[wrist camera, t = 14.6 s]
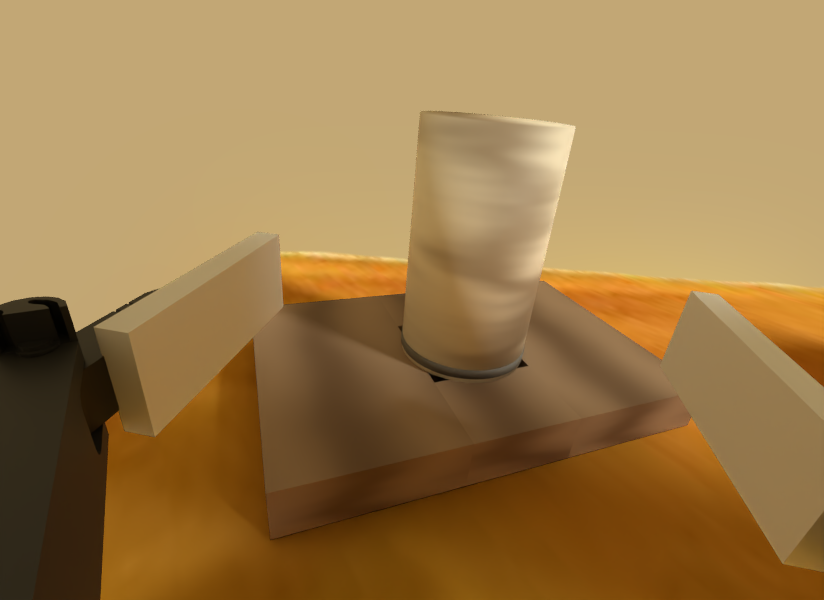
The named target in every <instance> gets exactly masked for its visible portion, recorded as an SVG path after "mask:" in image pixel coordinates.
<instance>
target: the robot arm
mask: <svg viewBox="0 0 824 600" xmlns="http://www.w3.org/2000/svg"><path fill="white" fill-rule="evenodd" d="M282 308H283V292H282V276H281V260H280V244H279V235H278V234H270V233H263V232H256V233H255V234H253V235H251V236H249V237H248V238H246V239H244V240H243V241H241V242H239V243H237V244H236V245H234V246H232V247H231V248H229V249H227V250H225V251H224V252H222V253H220V254H218V255H217V256H215V257H214V258H212V259H210V260H208V261H206V262H205V263H203V264H201V265H200V266H198V267H196V268H194V269H193V270H191V271H189V272H188V273H186V274H184V275H182V276H181V277H179V278H177V279H175V280H174V281H172V282H171V283H169V284H167V285H165V286H164V287H162V288H160V289H157V290H154V291H151V292H147V293H145V294H143V295H142V296H139V297H138V298H136V299H134V300H132V301H131V302H129V304H125V305H124V306H122V307H120V308H118V309H117V310H116V312H111V313H109V314H108V315H106V316H104V317H102V318H101V319H99V320H97V321H95V322H94V323H92V324H90V325H89V326H87V327H85V328H83V329H81V330H80V331H78V332H75V329H74V325H73V322H72V319H71V316H70V313H69V310H68V307H67V304H66V301H64V300H62V299H60V298H55V297H32V298H26V299H20V300H15V301H11V302H8V303H4V304H2V305H0V600H100V594H101V574H102V554H103V535H104V515H105V495H106V476H107V456H108V436H109V434H108V431H107V428H106V425H105V422H106V421H107V420H108V419H109V418H110V417H112V416H113V415H114V414H115V413H116V412H117V411H119V414H120V418H121V421H122V425H123V428H124V431H127V432H132V433H137V434H142V435H147V436H152V437H156V436H157V435H158V434H159V433H160V432H161V431H162V430H163V429H164V428H165V427H166V426H167V425H168V423H169V422H170V421H171V420H172V419H173V418H174V417H175V416H176V415H177V414H178V413H179V412H180V411H181V410H182V409H183V408H184V407H185V406H186V405H187V404H188V403H189V402H190V401H191V400H192V399H193V398H194V397H195V396H196V395H197V394H198V393H199V392H200V391H201V390H202V389H203V388H204V387H205V386H206V385H207V384H208V383H209V382H210V381H211V380H212V379H213V378H214V377H215V376H216V375H217V374H218V373H219V372H220V371H221V370H222V369H223V368H224V367H225V366H226V365H227V364H228V363H229V362H230V361H231V360H232V359H233V358H234V357H235V356H236V355H237V354H238V353H239V352H240V351H241V349H242V348H243V347H244V346H245V345H246V344H247V343H248V342H249V341H250V340H251V339H252V338H253V337H254V336H255V335H256V334H257V333H258V332H259V331H260V330H261V329H262V328H263V327H264V326H265V325H266V324H267V323H268V322H269V321H270V320H271V319H272V318H273V317H274V316H275V315H276V314H277V313H278V312H279V311H280V310H281V309H282ZM660 367H661V369H662V370H663V372H664V373H665V375H666V377H667V378H668V380H669V382H670V383H671V385H672V386H673V388H674V390H675V391H676V393H677V394H678V396H679V398H680V399H681V401H682V402H683V404H684V406H685V407H686V409H687V411H688V412H689V414H690V415H691V417H692V419H693V420H694V422H695V423H696V425H697V427H698V428H699V430H700V432H701V433H702V435H703V436H704V438H705V440H706V441H707V443H708V444H709V446H710V448H711V449H712V451H713V452H714V454H715V456H716V457H717V459H718V461H719V462H720V464H721V465H722V467H723V469H724V470H725V472H726V473H727V475H728V477H729V478H730V480H731V482H732V483H733V485H734V486H735V488H736V490H737V491H738V493H739V494H740V496H741V498H742V499H743V501H744V502H745V504H746V506H747V507H748V509H749V511H750V512H751V514H752V515H753V517H754V519H755V520H756V522H757V523H758V525H759V527H760V528H761V530H762V532H763V533H764V535H765V536H766V538H767V540H768V541H769V543H770V544H771V546H772V548H773V549H774V551H775V552H776V554H777V556H778V557H779V559H780V561H781V562H782V564H785V565H790V566H795V567H800V568H805V569H810V570H815V571H820V572H824V387H823V386H822V385H821V384H820V383H818V382H817V381H816V380H815V379H814V378H813V377H812V376H810V375H809V374H808V373H807V372H806V371H805V370H804V369H803V368H801V367H800V366H799V365H798V364H797V363H796V362H795V361H793V360H792V359H791V358H790V357H789V356H788V355H787V354H785V353H784V352H783V351H782V350H781V349H780V348H779V347H777V346H776V345H775V344H774V343H773V342H772V341H771V340H770V339H768V338H767V337H766V336H765V335H764V334H763V333H762V332H760V331H759V330H758V329H757V328H756V327H755V326H754V325H752V324H751V323H750V322H749V321H748V320H747V319H746V318H745V317H743V316H742V315H741V314H740V313H739V312H738V311H737V310H735V309H734V308H733V307H732V306H731V305H730V304H729V303H727V302H726V301H725V300H724V299H723V298H722V297H721V296H720V295H718V294H711V293H703V292H696V291H691V293H690V295H689V298H688V300H687V302H686V305H685V307H684V310H683V312H682V314H681V317H680V319H679V322H678V324H677V326H676V329H675V331H674V334H673V336H672V338H671V341H670V343H669V346H668V348H667V350H666V353H665V355H664V357H663V360H662V362H661V365H660Z"/></svg>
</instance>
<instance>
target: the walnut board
mask: <svg viewBox="0 0 824 600" xmlns="http://www.w3.org/2000/svg"><path fill="white" fill-rule="evenodd" d="M404 306H405V294H395V295H384V296H373V297H362V298H351V299H340V300H329V301H318V302H307V303H296V304H285V305H283V308H282V309H281V310H280V311H279V312H278V313H277V314H276V315H275V316H274V317H273V318H272V319H271V320H270V321H269V322H268V323H267V324H266V325H265V326H264V327H263V328H262V329H261V330H260V331H259V332H258V333H257V334H256V335H255V336H254V337H253V342H254V354H255V367H256V380H257V393H258V405H259V418H260V431H261V444H262V456H263V469H264V482H265V494H266V503H267V512H268V522H269V531H270V540H271V539H275V538H279V537H282V536H286V535H290V534H293V533H297V532H300V531H304V530H308V529H311V528H315V527H319V526H322V525H326V524H330V523H333V522H337V521H340V520H344V519H348V518H351V517H355V516H359V515H362V514H366V513H370V512H373V511H377V510H380V509H384V508H388V507H391V506H395V505H399V504H402V503H406V502H409V501H413V500H417V499H420V498H424V497H428V496H431V495H435V494H439V493H442V492H446V491H449V490H453V489H457V488H460V487H464V486H468V485H471V484H475V483H479V482H482V481H486V480H489V479H493V478H497V477H500V476H504V475H508V474H511V473H515V472H518V471H522V470H526V469H529V468H533V467H537V466H540V465H544V464H548V463H551V462H555V461H558V460H562V459H566V458H569V457H573V456H577V455H580V454H584V453H588V452H591V451H595V450H598V449H602V448H606V447H609V446H613V445H617V444H620V443H624V442H627V441H631V440H635V439H638V438H642V437H646V436H649V435H653V434H657V433H660V432H664V431H667V430H671V429H675V428H678V427H682V426H686V425H688V423H689V421H690V418H691V415H690V414H689V412H688V411H687V409H686V407H685V406H684V404H683V402H682V401H681V399H680V398H679V396H678V394H677V393H676V391H675V390H674V388H673V386H672V385H671V383H670V382H669V380H668V378H667V377H666V375H665V373H664V372H663V370H662V369H661V367H660V365H661V362H662V360H661V359H659V358H658V357H656V356H655V355H653V354H652V353H650V352H649V351H647V350H646V349H644V348H643V347H641V346H640V345H638V344H637V343H635V342H634V341H632V340H631V339H629V338H628V337H626V336H625V335H624V334H622V333H621V332H619V331H618V330H616V329H615V328H613V327H612V326H610V325H609V324H607V323H606V322H604V321H603V320H601V319H600V318H598V317H597V316H595V315H594V314H592V313H591V312H589V311H588V310H586V309H585V308H583V307H582V306H580V305H579V304H577V303H576V302H574V301H573V300H571V299H570V298H568V297H567V296H565V295H564V294H562V293H561V292H559V291H558V290H556V289H555V288H553V287H552V286H551V285H549V284H548V283H546V282H545V281H539V285H538V289H537V293H536V297H535V302H534V306H533V310H532V314H531V319H530V323H529V327H528V331H527V336H526V340H525V344H524V352H523V357H522V360H521V362H520V364H519V366H518V368H517V369H516V370H515V371H514V372H513V373H511V374H510V375H508V376H506V377H504V378H502V379H499V380H495V381H491V382H483V383H465V382H457V381H452V380H446V381H440V382H434V381H433V380H432V378H431V377H430V375H429V374H428V372H426V371H424V370H423V369H421V368H419V367H418V366H417V365H415V364H414V363H413V362H412V361H411V360H410V359H409V358H408V357H407V356H406V354H405V353H404V350H403V348H402V342H401V332H402V326H403V318H404Z"/></svg>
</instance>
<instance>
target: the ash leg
mask: <svg viewBox="0 0 824 600" xmlns="http://www.w3.org/2000/svg"><path fill="white" fill-rule="evenodd" d="M575 128H576V127H575V126H572V125H568V124H562V123H556V122H549V121H541V120H533V119H525V118H516V117H506V116H496V115H485V114H473V113H460V112H443V111H421V112H420V121H419V133H418V145H417V158H416V170H415V182H414V195H413V208H412V219H411V233H410V244H409V256H408V269H407V281H406V293H405V306H404V318H403V326H402V332H401V342H402V348H403V350H404V353H405V354H406V356H407V357H408V358H409V359H410V360H411V361H412V362H413V363H414V364H415V365H417V366H418V367H419V368H421V369H423V370H424V371H426V372H428V374H429V375H430V377H431V378H432V380H433V381H434V382H440V381H446V380H452V381H457V382H465V383H483V382H491V381H495V380H499V379H502V378H504V377H506V376H508V375H510V374H511V373H513V372H514V371H515V370H516V369H517V368H518V366H519V364H520V362H521V360H522V357H523V352H524V344H525V340H526V336H527V331H528V327H529V323H530V319H531V314H532V310H533V306H534V302H535V297H536V293H537V289H538V285H539V280H540V276H541V272H542V268H543V264H544V259H545V255H546V251H547V246H548V242H549V238H550V234H551V229H552V225H553V221H554V217H555V212H556V208H557V204H558V199H559V195H560V191H561V187H562V183H563V178H564V175H565V170H566V166H567V162H568V157H569V153H570V149H571V144H572V141H573V136H574V132H575Z"/></svg>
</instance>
